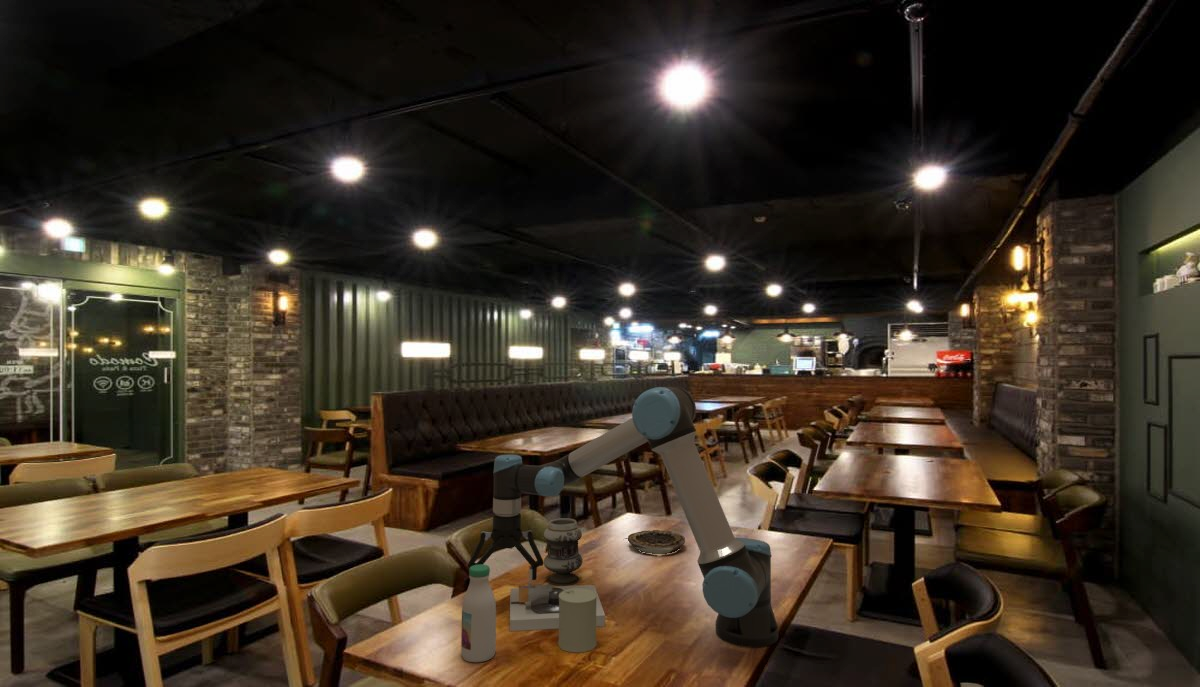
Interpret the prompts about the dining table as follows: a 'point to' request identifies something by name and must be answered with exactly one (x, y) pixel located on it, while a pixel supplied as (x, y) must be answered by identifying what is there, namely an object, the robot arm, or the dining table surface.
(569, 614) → the can
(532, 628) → the panel
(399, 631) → the dining table surface
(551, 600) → the dial
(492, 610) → the milk bottle
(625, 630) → the dining table surface
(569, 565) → the apothecary jar
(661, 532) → the pie
